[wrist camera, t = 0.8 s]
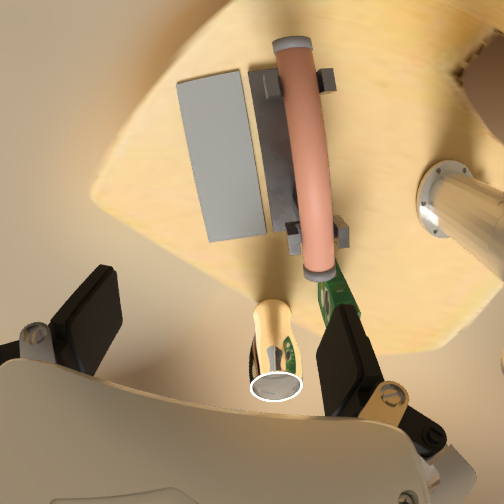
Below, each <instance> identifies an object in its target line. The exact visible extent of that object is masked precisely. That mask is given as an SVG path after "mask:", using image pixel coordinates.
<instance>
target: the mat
mask: <svg viewBox="0 0 504 504" xmlns="http://www.w3.org/2000/svg"><path fill="white" fill-rule="evenodd" d="M176 88H177V93H178V99H179V104H180V110H181V115H182V120H183V125H184V130H185V135H186V140H187V145H188V150H189V155H190V160H191V165H192V169H193V174H194V179H195V183H196V188H197V192H198V197H199V201H200V206H201V210H202V214H203V219H204V223H205V227H206V231H207V235H208V240H209V243H210V242H217V241H224V240H231V239H238V238H245V237H251V236H259V235H266V228H265V221H264V215H263V208H262V202H261V196H260V190H259V183H258V177H257V171H256V165H255V159H254V153H253V147H252V141H251V135H250V129H249V123H248V118H247V112H246V106H245V100H244V95H243V89H242V84H241V78H240V72H239V71H236V72H230V73H225V74H220V75H215V76H210V77H205V78H201V79H197V80H192V81H188V82H184V83H180V84H177V85H176Z"/></svg>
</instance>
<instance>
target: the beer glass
mask: <svg viewBox="0 0 504 504" xmlns="http://www.w3.org/2000/svg"><path fill="white" fill-rule="evenodd" d="M253 318H254V322H255V326H256V329H255V335H254V338H253V342H252V346H251V351H250V355H249V378H250V391H251V393H252V394H253V395H254V396H255V397H257V398H259V399H261V400H265V401H271V402H272V401H273V402H274V401H275V402H276V401H284V400H288V399H290V398H292V397H294V396H296V395H297V394H299V392H300V391H301V390H302V387H303V380H302V363H301V356H300V352H299V348H298V345H297V343H296V340H295V338H294V336H293V333H292V331H291V327H290V319H291V311H290V308H289V306H288V305H287V304H286V303H285V302H283V301H281V300H277V299H268V300H265V301H262V302H261V303H259V304H258V305H257V306H256V307H255V309H254V312H253Z"/></svg>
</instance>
